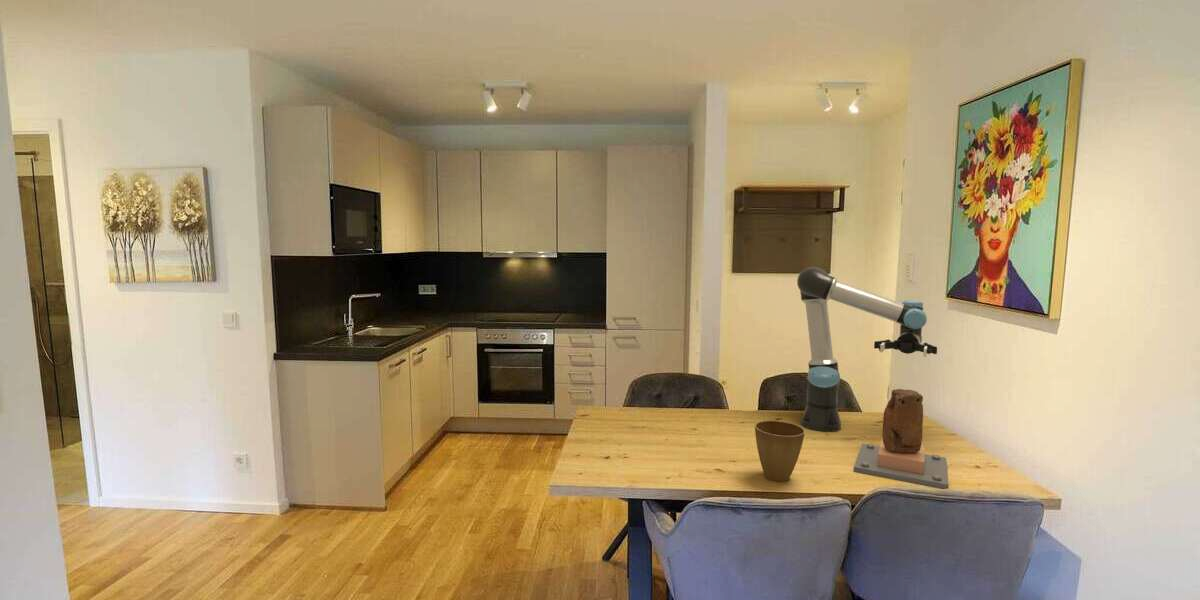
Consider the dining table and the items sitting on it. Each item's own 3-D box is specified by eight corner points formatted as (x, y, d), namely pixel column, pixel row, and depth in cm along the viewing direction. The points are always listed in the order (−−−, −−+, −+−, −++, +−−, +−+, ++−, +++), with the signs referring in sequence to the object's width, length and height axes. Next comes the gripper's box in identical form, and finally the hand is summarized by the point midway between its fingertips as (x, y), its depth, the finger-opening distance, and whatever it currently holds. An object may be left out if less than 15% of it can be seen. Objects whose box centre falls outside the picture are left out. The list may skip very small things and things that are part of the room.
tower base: (853, 471, 180) (854, 454, 180) (861, 447, 202) (862, 432, 202) (948, 489, 167) (949, 471, 167) (945, 461, 189) (946, 446, 189)
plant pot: (750, 482, 170) (752, 431, 169) (755, 465, 184) (757, 418, 183) (802, 490, 165) (804, 438, 164) (803, 472, 179) (805, 423, 178)
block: (909, 446, 188) (913, 388, 187) (923, 454, 181) (927, 393, 179) (878, 446, 188) (881, 388, 186) (891, 454, 180) (894, 394, 179)
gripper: (945, 355, 209) (943, 365, 191) (872, 349, 222) (863, 357, 205) (946, 336, 208) (944, 343, 190) (872, 330, 222) (864, 336, 204)
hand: (902, 350), depth 197 cm, fingers open, 13 cm apart
